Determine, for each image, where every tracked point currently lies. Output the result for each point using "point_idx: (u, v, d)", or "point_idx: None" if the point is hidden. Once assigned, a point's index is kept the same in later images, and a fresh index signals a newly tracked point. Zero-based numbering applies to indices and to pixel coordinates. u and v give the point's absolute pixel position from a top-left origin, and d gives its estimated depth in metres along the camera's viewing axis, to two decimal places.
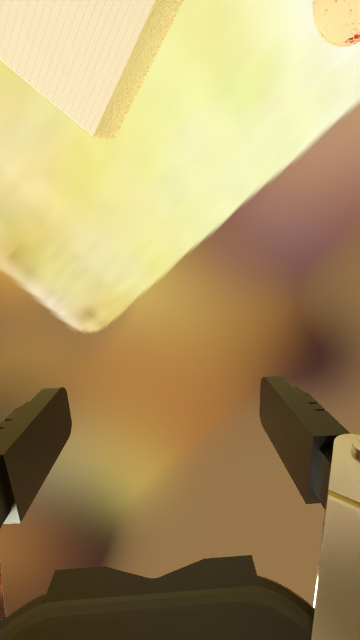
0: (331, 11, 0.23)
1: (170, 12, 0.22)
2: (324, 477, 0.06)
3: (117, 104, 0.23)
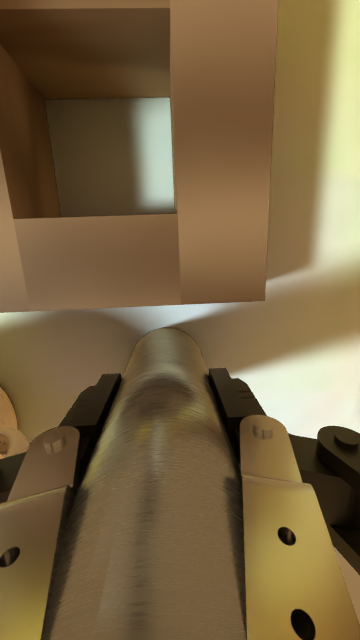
0: None
1: None
2: (236, 453, 0.07)
3: None
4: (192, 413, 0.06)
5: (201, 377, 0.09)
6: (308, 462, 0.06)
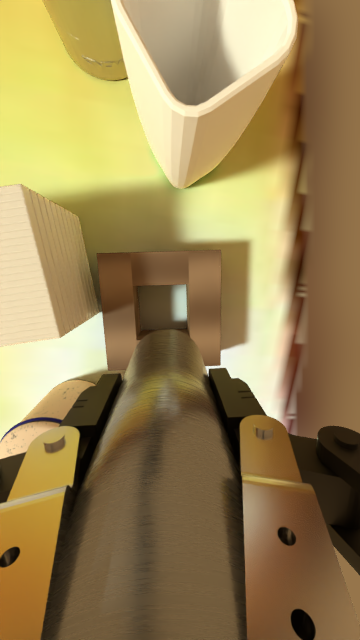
0: None
1: None
2: (236, 453, 0.07)
3: None
4: (192, 415, 0.06)
5: (201, 379, 0.09)
6: (308, 462, 0.06)
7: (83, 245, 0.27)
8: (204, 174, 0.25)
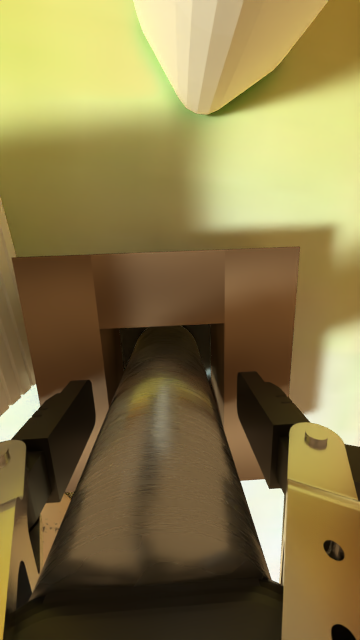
0: None
1: None
2: (282, 462, 0.07)
3: None
4: (186, 386, 0.08)
5: (195, 362, 0.10)
6: None
7: (9, 249, 0.13)
8: (257, 75, 0.11)
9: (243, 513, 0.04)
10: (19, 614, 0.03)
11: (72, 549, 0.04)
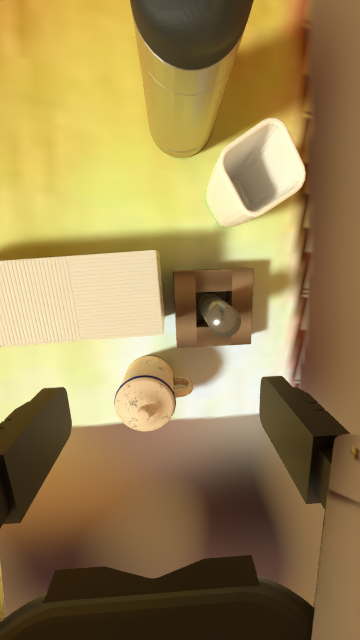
0: None
1: None
2: (324, 477, 0.06)
3: None
4: (224, 301, 0.34)
5: None
6: None
7: None
8: None
9: None
10: None
11: (216, 309, 0.30)
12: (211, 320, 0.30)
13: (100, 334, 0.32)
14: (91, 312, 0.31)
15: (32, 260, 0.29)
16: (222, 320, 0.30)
